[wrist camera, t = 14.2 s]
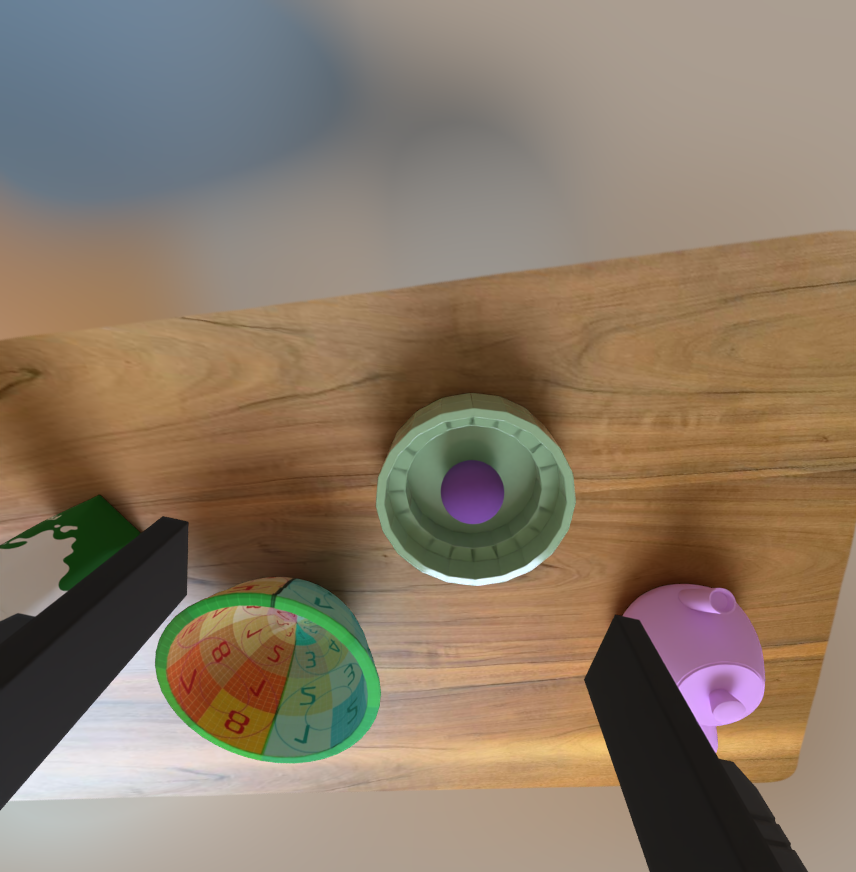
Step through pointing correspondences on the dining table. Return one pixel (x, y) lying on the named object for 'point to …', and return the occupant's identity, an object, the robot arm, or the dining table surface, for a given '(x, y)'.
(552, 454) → the green bowl
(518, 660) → the dining table surface
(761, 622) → the dining table surface
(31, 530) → the milk carton
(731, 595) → the teapot
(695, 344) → the dining table surface
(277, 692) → the bowl
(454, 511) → the ball
